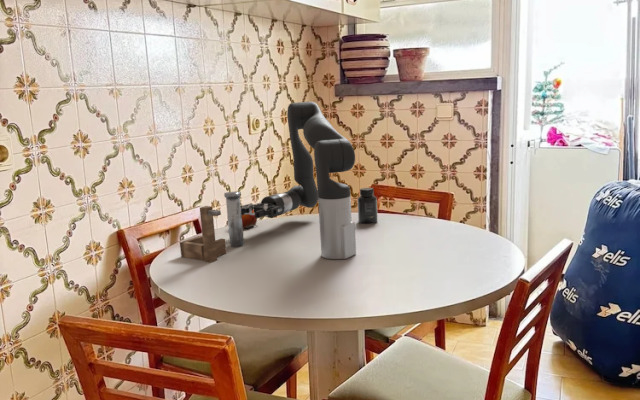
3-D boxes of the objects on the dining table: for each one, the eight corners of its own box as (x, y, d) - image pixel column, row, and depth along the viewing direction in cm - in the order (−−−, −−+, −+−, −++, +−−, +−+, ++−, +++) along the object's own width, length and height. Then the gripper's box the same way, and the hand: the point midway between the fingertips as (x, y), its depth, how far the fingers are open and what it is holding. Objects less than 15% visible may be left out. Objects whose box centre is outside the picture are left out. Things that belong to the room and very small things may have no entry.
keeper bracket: (241, 255, 168) (236, 202, 165) (220, 263, 160) (214, 209, 157) (201, 249, 177) (196, 199, 174) (180, 257, 170) (174, 205, 167)
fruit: (250, 226, 198) (240, 207, 199) (238, 236, 202) (228, 216, 204) (266, 222, 204) (256, 202, 205) (253, 231, 209) (244, 212, 210)
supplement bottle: (380, 220, 202) (379, 187, 200) (372, 224, 197) (370, 190, 194) (364, 219, 206) (362, 186, 204) (355, 223, 200) (353, 190, 198)
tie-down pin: (248, 243, 180) (244, 191, 177) (237, 248, 176) (233, 194, 173) (236, 242, 183) (232, 191, 180) (225, 246, 179) (220, 193, 176)
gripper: (260, 193, 199) (228, 201, 186) (292, 195, 191) (261, 204, 178) (261, 214, 200) (230, 223, 187) (293, 216, 192) (263, 227, 179)
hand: (245, 214), depth 182 cm, fingers open, 8 cm apart
